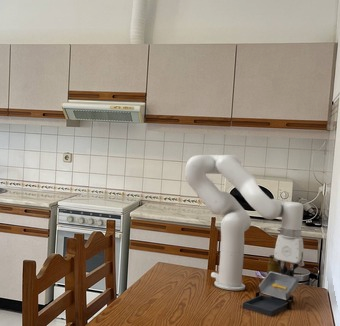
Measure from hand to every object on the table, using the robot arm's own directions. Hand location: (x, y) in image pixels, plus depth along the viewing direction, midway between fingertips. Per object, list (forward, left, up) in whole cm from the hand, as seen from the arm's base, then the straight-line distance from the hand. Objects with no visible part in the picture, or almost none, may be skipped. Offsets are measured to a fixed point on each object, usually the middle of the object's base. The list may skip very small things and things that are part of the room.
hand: (287, 278), depth 197 cm
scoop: (0, -4, -2) cm, 5 cm away
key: (+1, -7, -2) cm, 7 cm away
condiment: (-12, +17, -8) cm, 22 cm away
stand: (0, -7, -8) cm, 11 cm away
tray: (0, -18, -8) cm, 20 cm away
